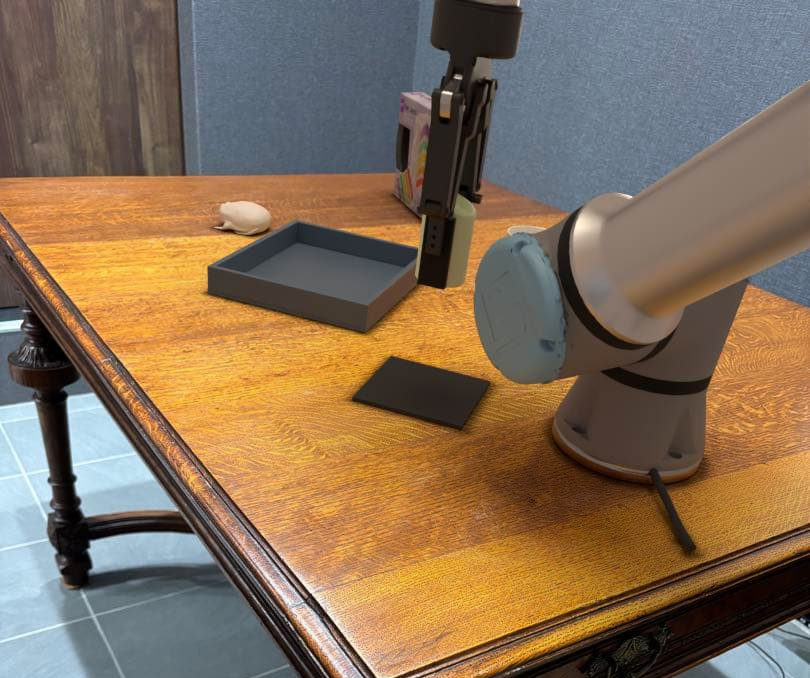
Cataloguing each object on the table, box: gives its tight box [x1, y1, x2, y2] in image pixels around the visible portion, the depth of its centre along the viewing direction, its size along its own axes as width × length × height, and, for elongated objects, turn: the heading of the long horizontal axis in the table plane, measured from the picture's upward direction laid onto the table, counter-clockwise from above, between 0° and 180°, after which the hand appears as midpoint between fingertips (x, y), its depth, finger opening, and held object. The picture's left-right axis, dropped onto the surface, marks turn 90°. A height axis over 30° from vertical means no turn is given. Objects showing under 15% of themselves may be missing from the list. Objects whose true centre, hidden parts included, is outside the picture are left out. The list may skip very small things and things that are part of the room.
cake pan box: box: [393, 91, 431, 220], centre depth 142 cm, size 19×5×18 cm, turn 17°
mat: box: [351, 355, 491, 430], centre depth 88 cm, size 12×12×1 cm
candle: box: [415, 194, 477, 289], centre depth 78 cm, size 5×5×8 cm
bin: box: [206, 219, 419, 334], centre depth 110 cm, size 26×22×4 cm
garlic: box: [214, 200, 272, 236], centre depth 124 cm, size 8×7×4 cm
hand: (440, 276), depth 80 cm, fingers closed on candle, 5 cm apart
